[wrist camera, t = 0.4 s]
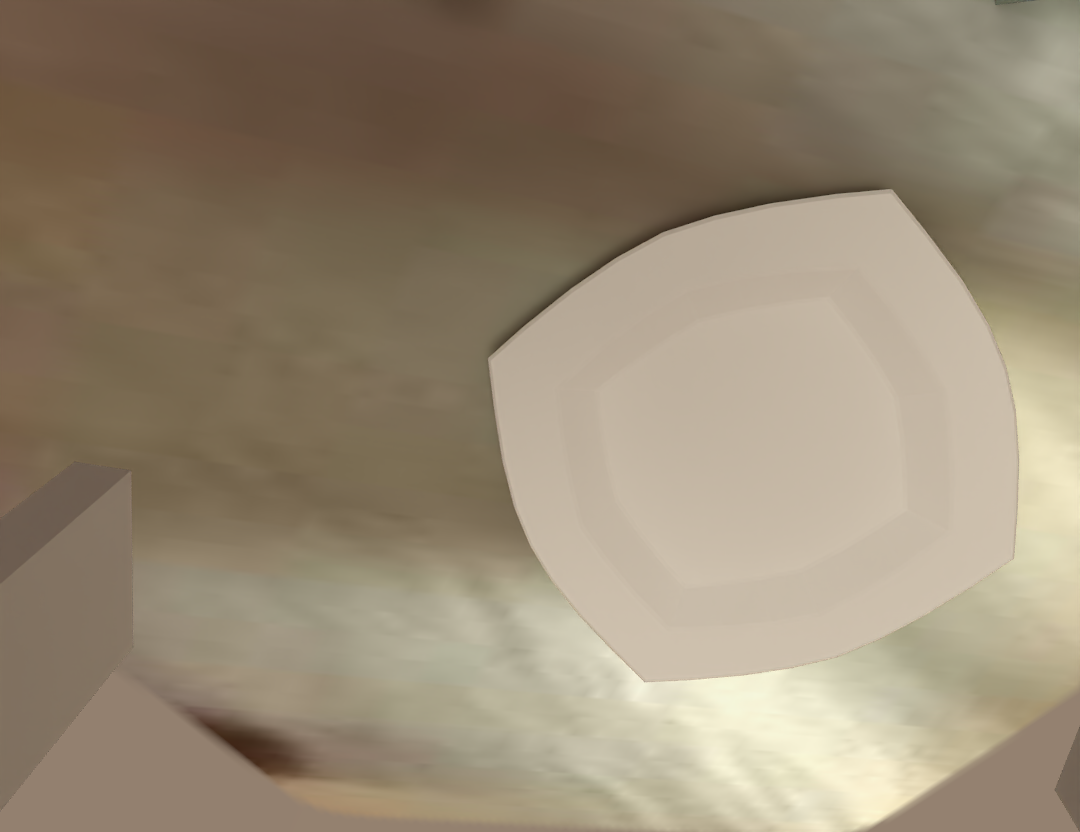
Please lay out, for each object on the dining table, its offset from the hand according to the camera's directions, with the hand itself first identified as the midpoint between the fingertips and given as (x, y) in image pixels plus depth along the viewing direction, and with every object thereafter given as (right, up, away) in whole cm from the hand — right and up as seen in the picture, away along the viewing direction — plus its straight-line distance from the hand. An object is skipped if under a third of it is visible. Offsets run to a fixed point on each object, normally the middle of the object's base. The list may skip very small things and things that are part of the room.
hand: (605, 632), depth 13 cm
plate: (+8, +2, +27) cm, 28 cm away
